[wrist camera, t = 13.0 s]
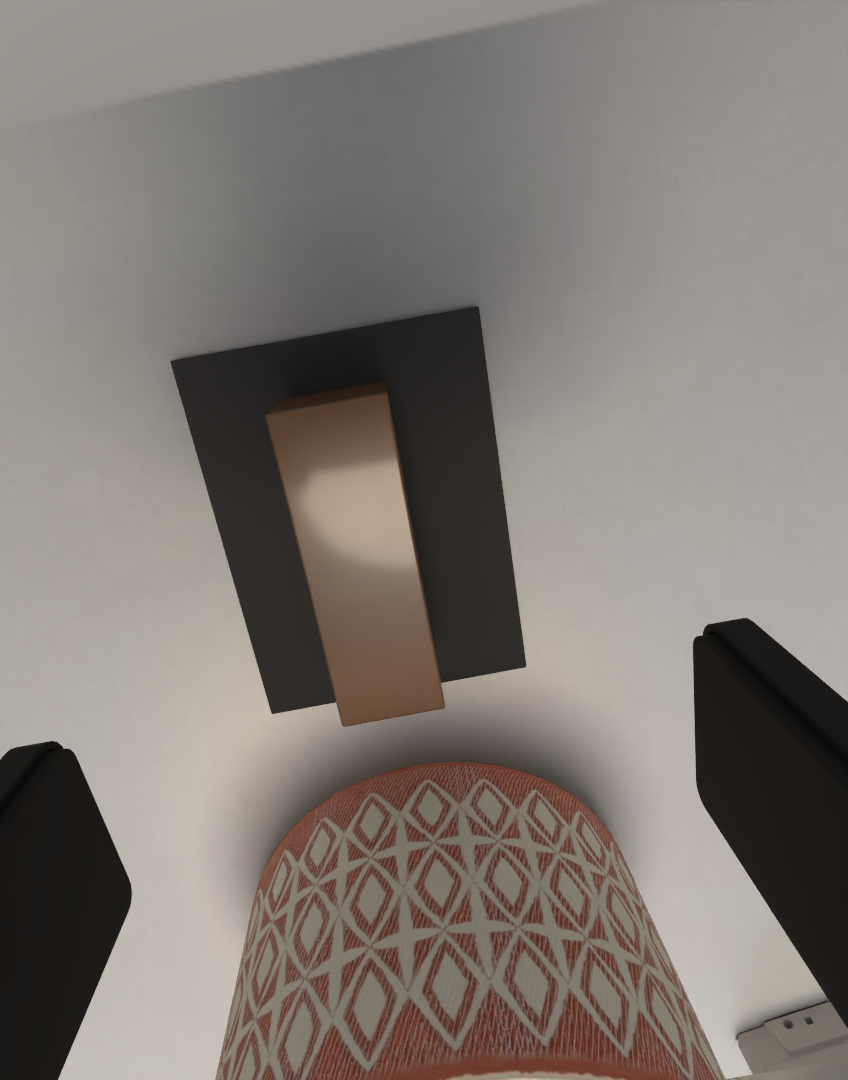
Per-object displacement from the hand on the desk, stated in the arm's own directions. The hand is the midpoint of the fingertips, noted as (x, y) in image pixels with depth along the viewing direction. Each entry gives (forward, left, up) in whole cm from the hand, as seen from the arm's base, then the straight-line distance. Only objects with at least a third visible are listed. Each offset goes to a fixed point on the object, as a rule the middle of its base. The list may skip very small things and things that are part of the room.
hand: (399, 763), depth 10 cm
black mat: (+2, -1, -18) cm, 18 cm away
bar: (+2, -1, -18) cm, 18 cm away
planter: (+22, +5, -19) cm, 29 cm away
